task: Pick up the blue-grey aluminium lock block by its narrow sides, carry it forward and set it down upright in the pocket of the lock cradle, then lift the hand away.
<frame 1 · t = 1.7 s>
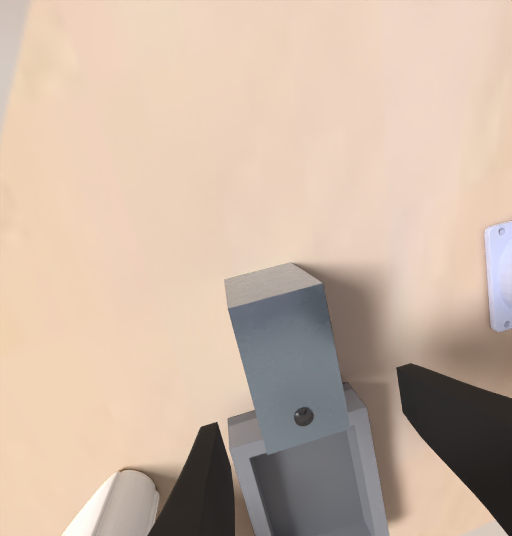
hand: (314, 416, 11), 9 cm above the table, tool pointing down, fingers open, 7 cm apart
photo printer: (103, 520, 21), on the table
lock block: (270, 326, 20), on the table
lock cradle: (305, 470, 22), on the table
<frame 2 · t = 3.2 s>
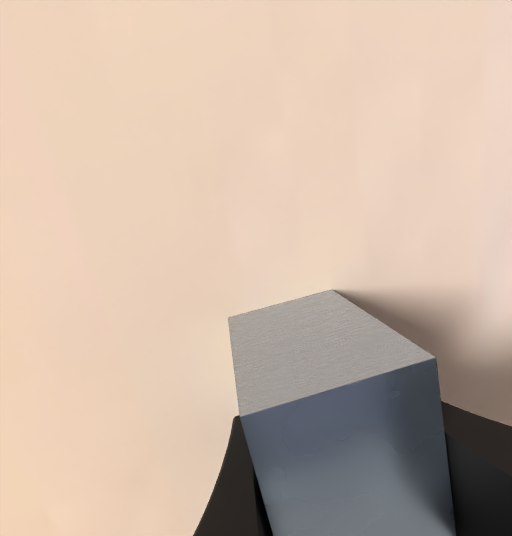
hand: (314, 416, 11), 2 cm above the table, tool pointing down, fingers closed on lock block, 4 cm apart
lock block: (299, 387, 13), on the table, touching gripper
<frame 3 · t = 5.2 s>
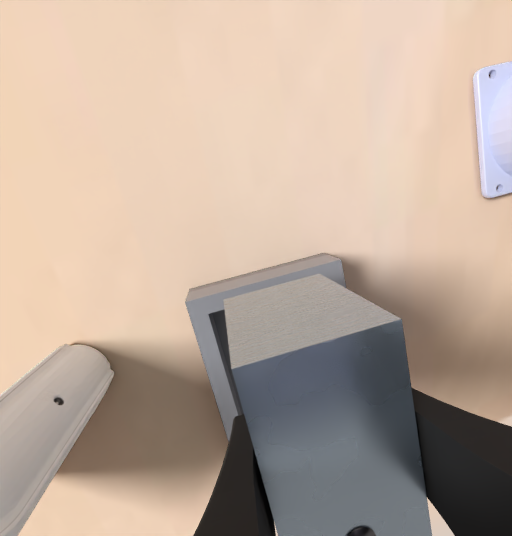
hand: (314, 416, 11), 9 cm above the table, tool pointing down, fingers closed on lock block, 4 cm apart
photo printer: (54, 406, 19), on the table
lock block: (290, 365, 14), point 6 cm above the table, touching gripper
lock cradle: (279, 356, 20), on the table
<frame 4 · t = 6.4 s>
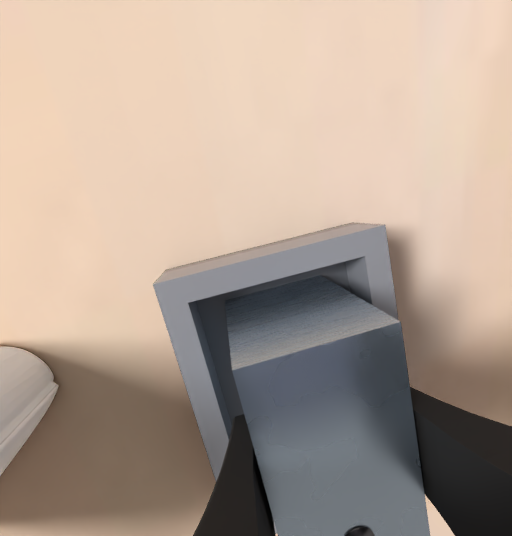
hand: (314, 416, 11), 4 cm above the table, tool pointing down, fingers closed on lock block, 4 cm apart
lock block: (291, 365, 14), point 1 cm above the table, touching gripper, lock cradle
lock cradle: (289, 364, 15), on the table
when the fingers open (4 cm above the table, at t = 7.2 s): lock block stays where it is, resting on lock cradle.
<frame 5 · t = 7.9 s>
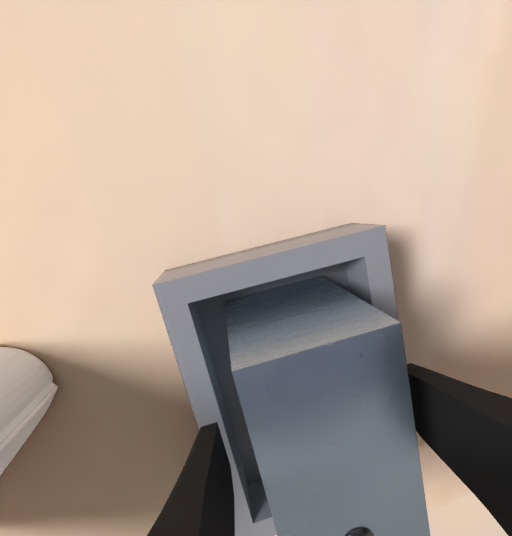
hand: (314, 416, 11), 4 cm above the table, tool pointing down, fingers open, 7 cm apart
lock block: (290, 366, 14), point 1 cm above the table, touching lock cradle
lock cradle: (288, 364, 15), on the table
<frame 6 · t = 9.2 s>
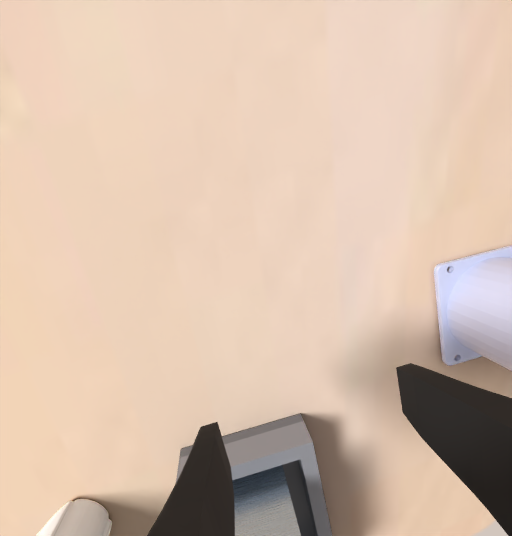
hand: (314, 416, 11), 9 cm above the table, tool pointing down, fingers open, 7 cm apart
lock block: (260, 504, 22), point 1 cm above the table, touching lock cradle
lock cradle: (259, 498, 23), on the table
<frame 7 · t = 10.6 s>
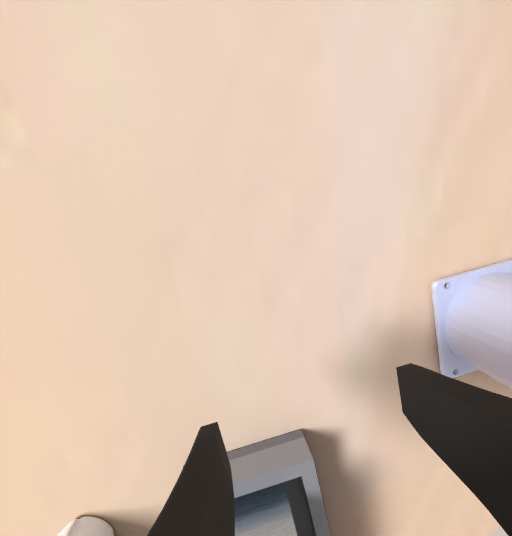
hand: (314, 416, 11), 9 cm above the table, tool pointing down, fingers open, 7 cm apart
lock block: (262, 519, 22), point 1 cm above the table, touching lock cradle
lock cradle: (262, 512, 23), on the table
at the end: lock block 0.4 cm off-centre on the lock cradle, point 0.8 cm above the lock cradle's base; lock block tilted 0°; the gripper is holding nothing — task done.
